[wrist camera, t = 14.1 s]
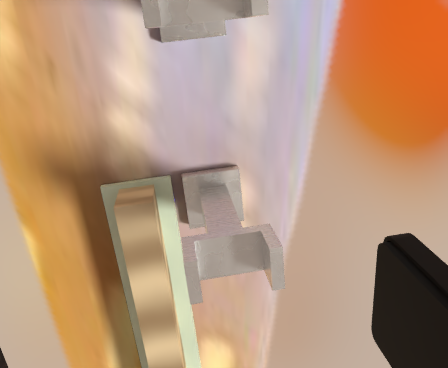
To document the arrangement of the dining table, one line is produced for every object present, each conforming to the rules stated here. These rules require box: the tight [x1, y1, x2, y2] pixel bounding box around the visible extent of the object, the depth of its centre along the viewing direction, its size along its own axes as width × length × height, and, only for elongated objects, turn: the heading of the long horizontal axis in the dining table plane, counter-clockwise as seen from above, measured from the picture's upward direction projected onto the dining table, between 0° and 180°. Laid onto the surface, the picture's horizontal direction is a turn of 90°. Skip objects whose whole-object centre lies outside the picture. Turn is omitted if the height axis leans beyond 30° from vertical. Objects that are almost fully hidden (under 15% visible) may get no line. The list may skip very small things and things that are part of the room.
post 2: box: [182, 166, 285, 305], centre depth 31 cm, size 5×6×13 cm
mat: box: [100, 175, 201, 368], centre depth 40 cm, size 23×6×1 cm, turn 6°
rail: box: [114, 184, 186, 368], centre depth 37 cm, size 22×3×4 cm, turn 6°
